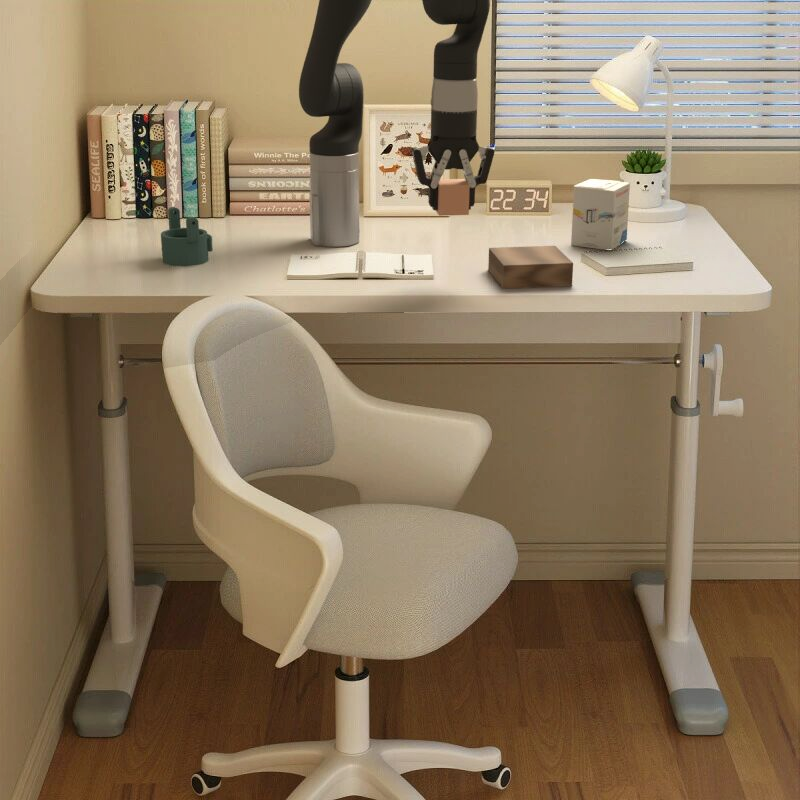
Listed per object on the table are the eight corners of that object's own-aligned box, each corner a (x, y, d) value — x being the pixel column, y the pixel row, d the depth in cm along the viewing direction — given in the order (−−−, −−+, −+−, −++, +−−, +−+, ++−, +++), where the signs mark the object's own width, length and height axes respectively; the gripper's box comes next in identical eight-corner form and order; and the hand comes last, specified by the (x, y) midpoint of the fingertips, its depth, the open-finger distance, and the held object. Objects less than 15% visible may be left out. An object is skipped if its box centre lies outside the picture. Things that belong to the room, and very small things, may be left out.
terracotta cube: (439, 215, 208) (439, 185, 206) (434, 208, 213) (434, 179, 211) (468, 214, 209) (469, 185, 207) (463, 208, 213) (463, 178, 211)
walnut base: (503, 288, 211) (503, 265, 210) (488, 269, 222) (489, 247, 221) (572, 285, 213) (573, 263, 212) (554, 267, 224) (555, 245, 223)
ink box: (586, 236, 246) (590, 177, 242) (627, 241, 242) (631, 181, 238) (569, 245, 239) (572, 184, 235) (611, 251, 235) (615, 189, 231)
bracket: (196, 268, 223) (194, 219, 220) (151, 263, 226) (148, 214, 223) (220, 257, 231) (218, 209, 228) (176, 252, 234) (174, 204, 231)
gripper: (414, 110, 200) (412, 215, 206) (502, 109, 202) (497, 213, 208) (407, 103, 207) (406, 205, 213) (492, 102, 209) (488, 203, 215)
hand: (451, 208), depth 210 cm, fingers closed on terracotta cube, 5 cm apart
